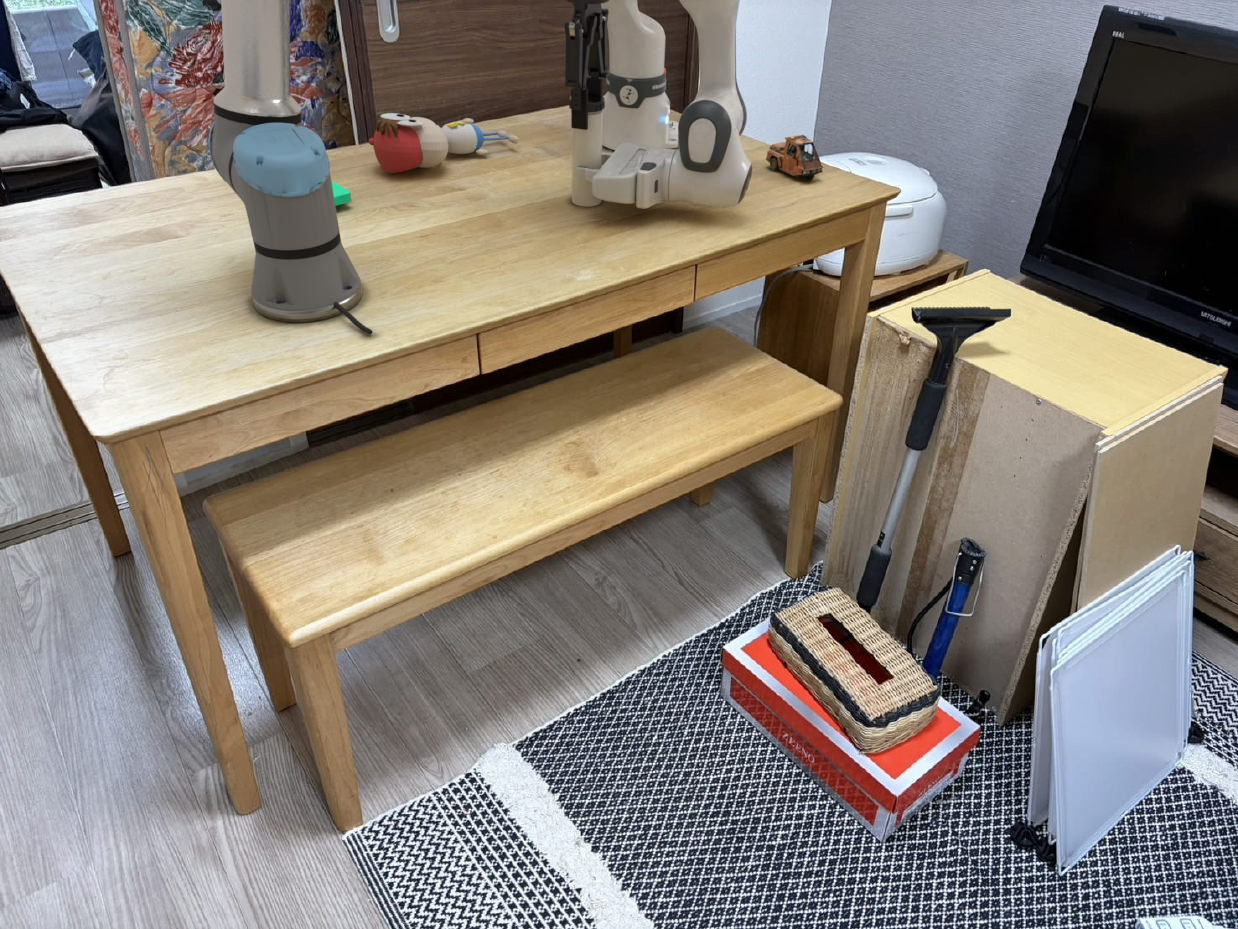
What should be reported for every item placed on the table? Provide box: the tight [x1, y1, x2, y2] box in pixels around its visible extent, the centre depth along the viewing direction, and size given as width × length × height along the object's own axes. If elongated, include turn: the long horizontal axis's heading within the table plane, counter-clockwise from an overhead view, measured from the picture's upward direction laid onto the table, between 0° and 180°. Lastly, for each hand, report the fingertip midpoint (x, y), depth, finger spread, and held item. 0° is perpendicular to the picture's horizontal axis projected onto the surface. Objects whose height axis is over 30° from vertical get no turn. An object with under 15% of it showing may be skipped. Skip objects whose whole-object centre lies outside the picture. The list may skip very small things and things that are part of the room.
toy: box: [368, 112, 520, 174], centre depth 181 cm, size 18×10×30 cm
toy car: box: [765, 134, 824, 182], centre depth 180 cm, size 6×12×7 cm, turn 39°
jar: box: [570, 110, 603, 207], centre depth 163 cm, size 5×5×17 cm
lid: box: [568, 93, 605, 112], centre depth 158 cm, size 6×6×2 cm
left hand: (586, 122), depth 160 cm, fingers closed on lid, 6 cm apart
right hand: (581, 165), depth 164 cm, fingers closed on jar, 5 cm apart
